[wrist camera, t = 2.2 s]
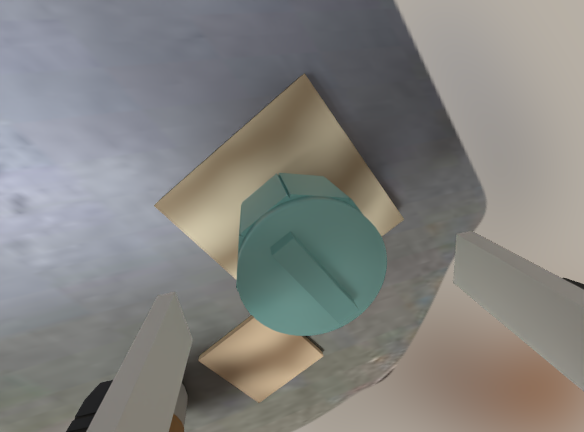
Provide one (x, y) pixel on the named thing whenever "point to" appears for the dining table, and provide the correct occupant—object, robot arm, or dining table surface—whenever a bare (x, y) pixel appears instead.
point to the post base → (272, 172)
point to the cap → (306, 256)
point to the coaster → (259, 358)
